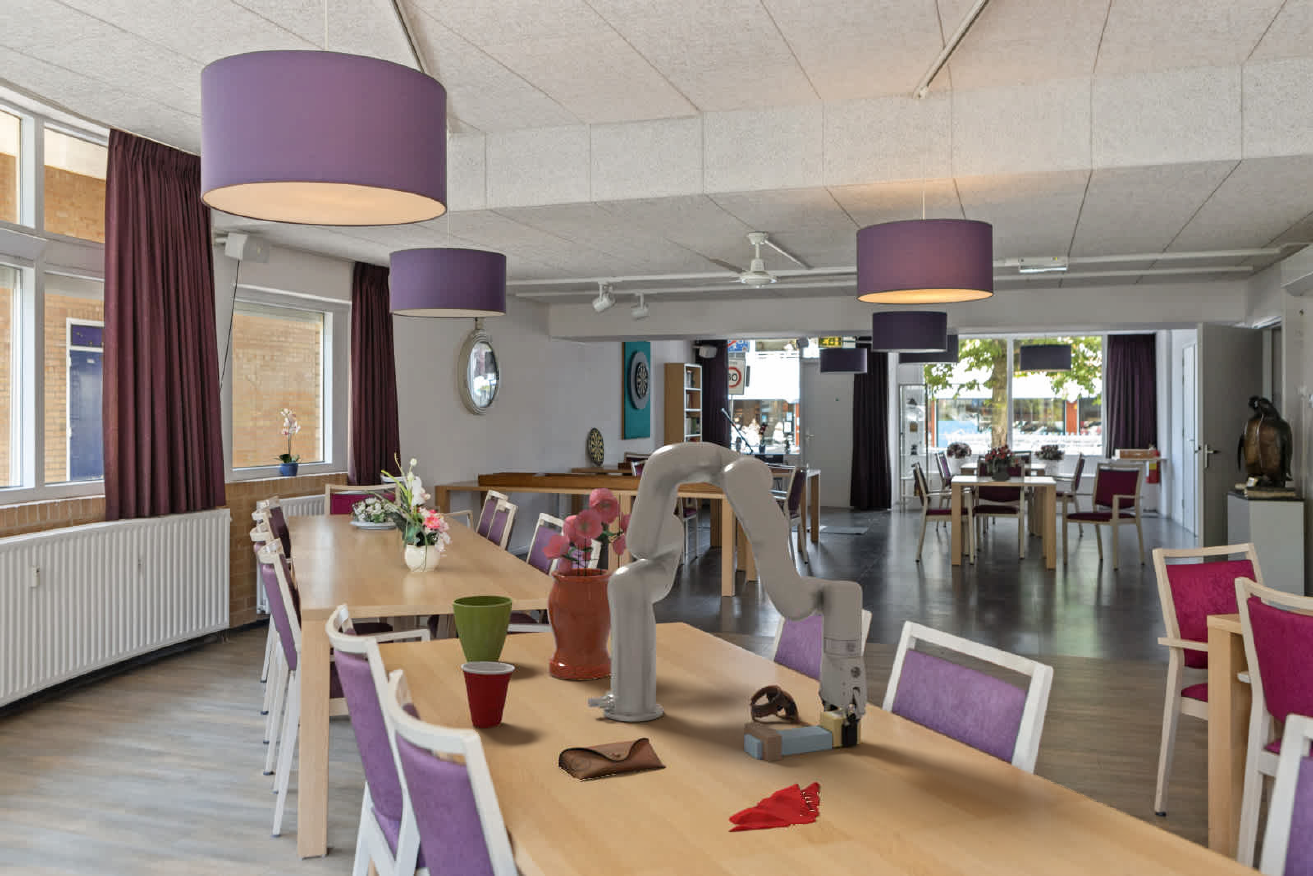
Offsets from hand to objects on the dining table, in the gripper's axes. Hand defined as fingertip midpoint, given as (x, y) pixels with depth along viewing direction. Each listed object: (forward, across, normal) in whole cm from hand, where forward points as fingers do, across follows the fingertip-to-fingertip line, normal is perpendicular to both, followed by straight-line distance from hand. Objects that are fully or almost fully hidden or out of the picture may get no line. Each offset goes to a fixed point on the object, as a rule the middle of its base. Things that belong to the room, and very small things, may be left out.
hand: (840, 739), depth 193 cm
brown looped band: (+1, +18, +4) cm, 18 cm away
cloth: (+2, -25, +27) cm, 37 cm away
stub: (+1, 0, 0) cm, 1 cm away
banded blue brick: (+1, 0, +12) cm, 12 cm away
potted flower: (+1, +68, +28) cm, 74 cm away
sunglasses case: (+1, +3, +45) cm, 46 cm away
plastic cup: (+1, +36, +60) cm, 70 cm away
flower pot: (+1, +86, +50) cm, 100 cm away
